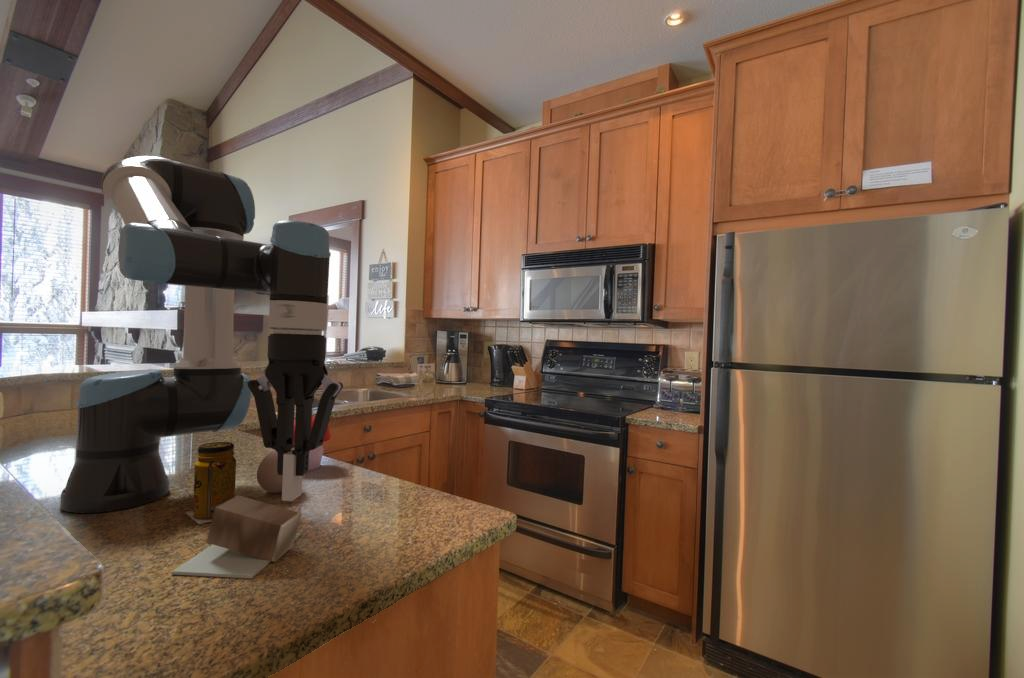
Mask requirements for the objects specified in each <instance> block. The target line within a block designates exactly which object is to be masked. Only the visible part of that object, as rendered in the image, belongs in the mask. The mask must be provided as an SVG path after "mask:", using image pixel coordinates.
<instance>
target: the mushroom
mask: <svg viewBox="0 0 1024 678" xmlns="http://www.w3.org/2000/svg"><path fill="white" fill-rule="evenodd" d="M314 419H315V416H312V425H311V430H312V426H313V423H314ZM331 439H332V435H331V432H330V428H329V426H328V427H327V431H326V434H325V438H324V441H323V443H324V442H328V441H330V440H331ZM293 444H295V419H294V436H293ZM291 450H294V447H293V448H291ZM323 453H324V447H323V444H322V445H321V446H319V447H317V448H316V449H314V450H310V452H309V465H308V471H313V470H316V469H318V468H321V467H320V466H321V463H322V460H323V459H322V458H323Z"/></svg>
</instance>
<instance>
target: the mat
mask: <svg viewBox="0 0 1024 678" xmlns="http://www.w3.org/2000/svg"><path fill="white" fill-rule="evenodd" d="M299 536H300V537H301V536H302V532H297V534H296V538H295V541H296V540H298V537H299ZM300 537H299V538H300ZM271 562H272V561H269V560H266V559H262V558H259V557H255V556H252V555H248V554H245V553H241V552H238V551H234V550H230V549H227V548H223V547H220V546H216V545H213V544H210V546H208V547H207V548H205V549H204V550H202V551H201V552H199V553H198V554H196V555H193V557H191V558H190V559H188V560H187V561H185V562H184V563H182V564H181V565H179V566H178V567H176V568H175V569H173V570H172V571H171V575H177V576H178V575H179V576H193V577H194V576H195V577H216V578H217V577H219V578H220V577H221V578H233V579H236V578H237V579H253V578H254V577H256V575H258V574H259V573H260V572H261V571H262V570H263V569H264V568H265V567H266V566H268V565H269V564H271Z"/></svg>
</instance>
